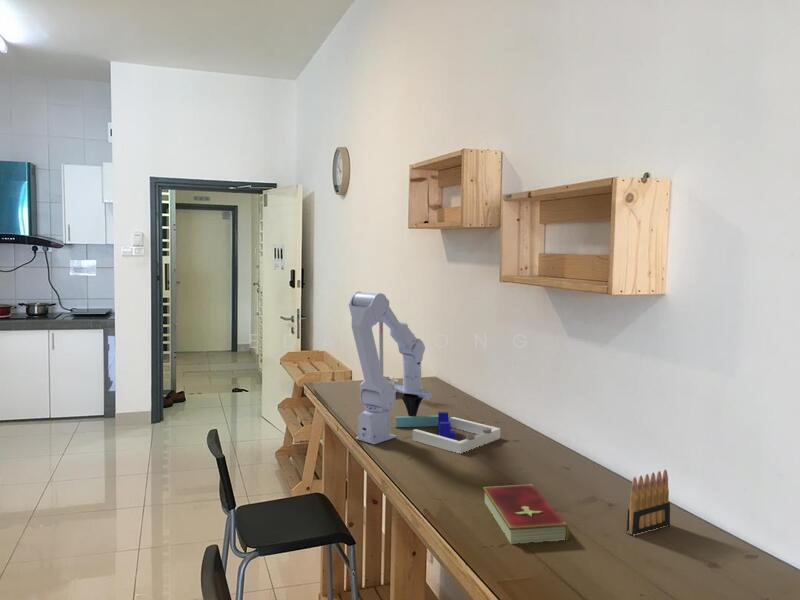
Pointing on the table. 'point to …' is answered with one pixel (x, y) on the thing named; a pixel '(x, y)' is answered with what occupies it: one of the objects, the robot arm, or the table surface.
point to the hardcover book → (524, 514)
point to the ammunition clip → (649, 503)
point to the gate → (416, 421)
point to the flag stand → (395, 380)
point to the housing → (472, 441)
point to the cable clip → (445, 426)
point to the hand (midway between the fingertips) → (412, 417)
